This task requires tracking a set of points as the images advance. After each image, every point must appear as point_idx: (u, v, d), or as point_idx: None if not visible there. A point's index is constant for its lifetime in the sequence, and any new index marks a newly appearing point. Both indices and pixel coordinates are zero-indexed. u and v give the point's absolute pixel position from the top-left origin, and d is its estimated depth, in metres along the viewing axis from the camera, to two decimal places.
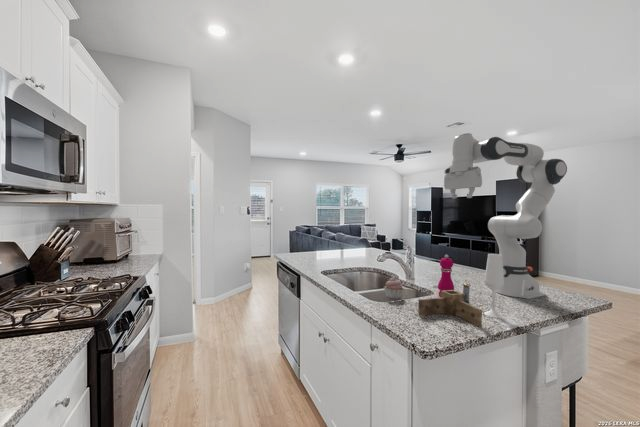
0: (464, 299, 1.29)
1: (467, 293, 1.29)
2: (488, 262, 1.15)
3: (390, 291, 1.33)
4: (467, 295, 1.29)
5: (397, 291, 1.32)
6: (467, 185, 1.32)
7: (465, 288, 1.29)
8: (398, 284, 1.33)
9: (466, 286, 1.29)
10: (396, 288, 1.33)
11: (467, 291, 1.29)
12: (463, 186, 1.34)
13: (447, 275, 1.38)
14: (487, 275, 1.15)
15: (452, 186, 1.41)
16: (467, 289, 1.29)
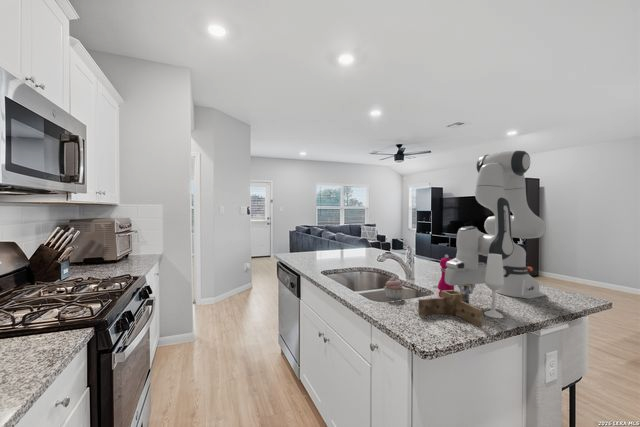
0: (464, 299, 1.29)
1: (467, 293, 1.29)
2: (488, 262, 1.15)
3: (390, 291, 1.33)
4: (467, 295, 1.29)
5: (397, 291, 1.32)
6: (479, 282, 1.29)
7: (465, 288, 1.29)
8: (398, 284, 1.33)
9: (466, 286, 1.29)
10: (396, 288, 1.33)
11: (467, 291, 1.29)
12: (474, 283, 1.29)
13: None
14: (487, 275, 1.15)
15: (461, 283, 1.27)
16: (467, 289, 1.29)
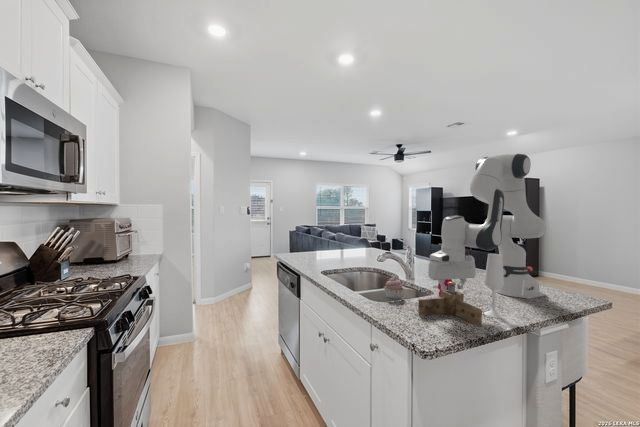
0: None
1: (452, 292, 1.17)
2: (488, 262, 1.15)
3: (390, 291, 1.33)
4: None
5: (397, 291, 1.32)
6: (466, 276, 1.18)
7: (450, 287, 1.18)
8: (398, 284, 1.33)
9: (451, 285, 1.17)
10: (396, 288, 1.33)
11: (452, 290, 1.17)
12: (461, 278, 1.17)
13: None
14: (487, 275, 1.15)
15: (446, 277, 1.16)
16: (452, 288, 1.17)
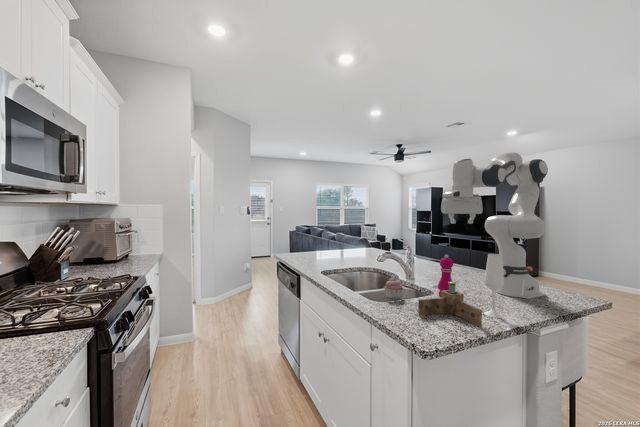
0: None
1: (453, 292, 1.17)
2: (488, 262, 1.15)
3: (390, 291, 1.33)
4: None
5: (397, 291, 1.32)
6: (474, 211, 1.35)
7: (451, 287, 1.18)
8: (398, 284, 1.33)
9: (452, 284, 1.17)
10: (396, 288, 1.33)
11: (453, 290, 1.17)
12: (469, 213, 1.34)
13: (447, 275, 1.38)
14: (487, 275, 1.15)
15: (456, 211, 1.33)
16: (453, 288, 1.17)
